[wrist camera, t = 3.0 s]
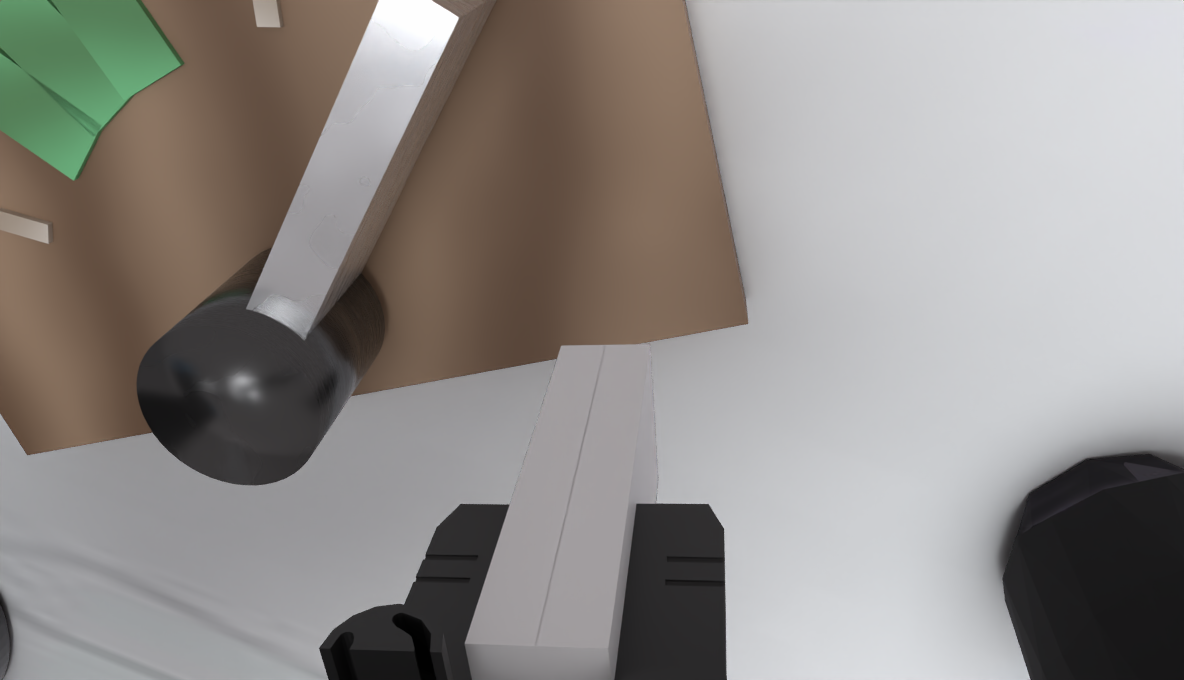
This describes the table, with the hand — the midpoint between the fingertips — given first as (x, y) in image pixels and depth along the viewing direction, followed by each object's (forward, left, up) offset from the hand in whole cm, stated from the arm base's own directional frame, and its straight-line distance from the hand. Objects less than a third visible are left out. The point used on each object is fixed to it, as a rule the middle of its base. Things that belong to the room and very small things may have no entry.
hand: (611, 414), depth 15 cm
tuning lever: (-7, +2, -9) cm, 12 cm away
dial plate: (-10, +4, -11) cm, 15 cm away
